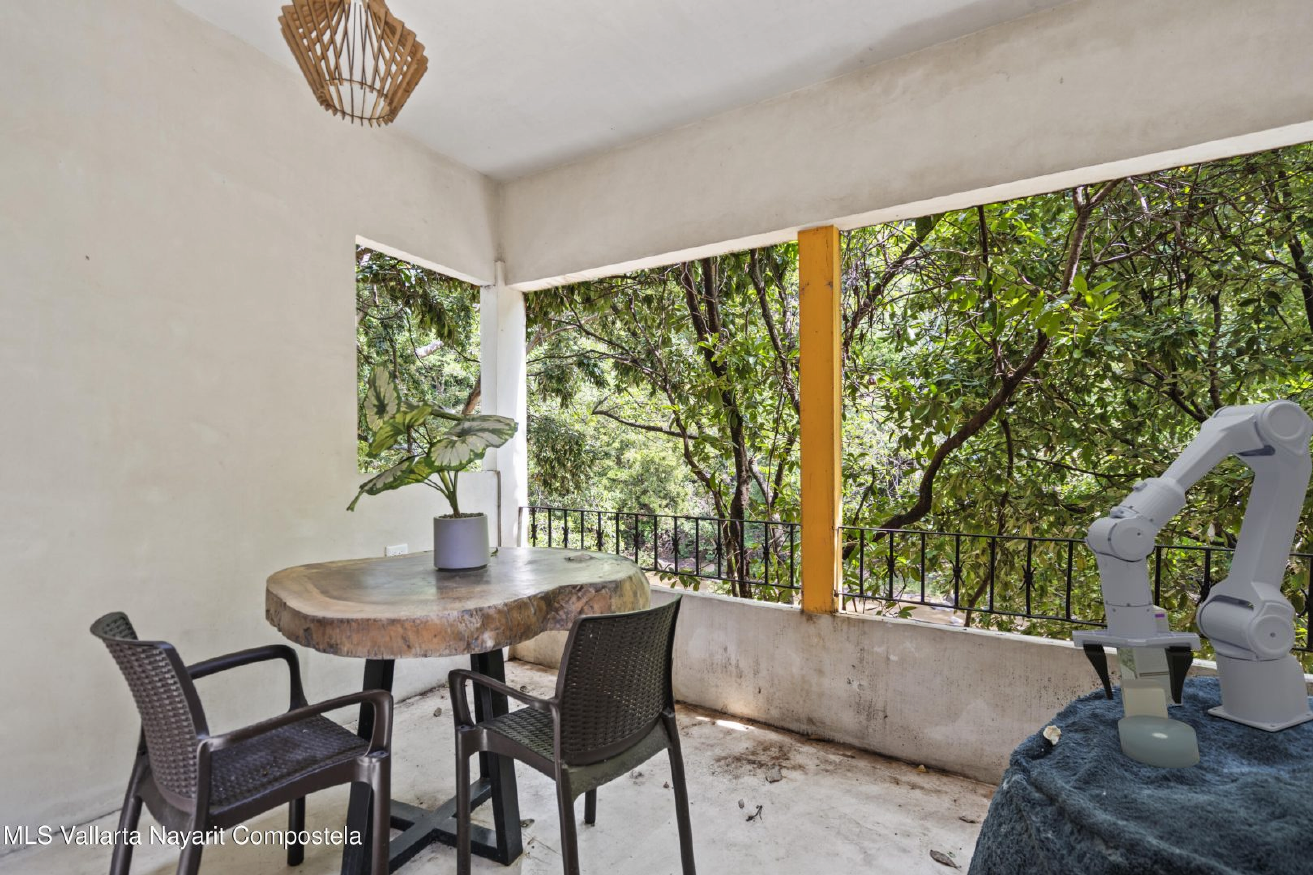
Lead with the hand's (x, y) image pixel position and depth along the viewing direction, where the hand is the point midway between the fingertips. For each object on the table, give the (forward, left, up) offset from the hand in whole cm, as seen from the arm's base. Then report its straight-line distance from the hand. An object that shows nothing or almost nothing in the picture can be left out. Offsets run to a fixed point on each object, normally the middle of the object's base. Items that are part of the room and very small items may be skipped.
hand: (1142, 699), depth 91 cm
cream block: (0, 0, -4) cm, 4 cm away
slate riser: (+6, +6, -4) cm, 9 cm away
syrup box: (-9, -6, -4) cm, 12 cm away
